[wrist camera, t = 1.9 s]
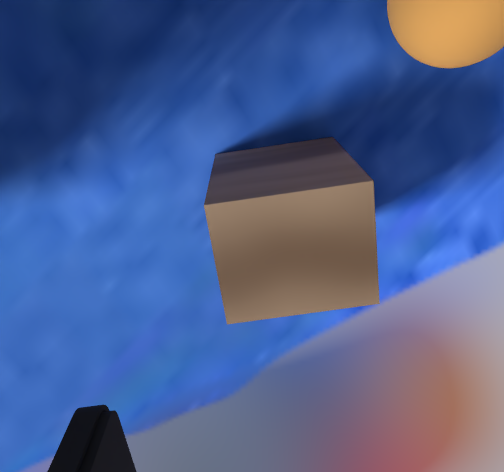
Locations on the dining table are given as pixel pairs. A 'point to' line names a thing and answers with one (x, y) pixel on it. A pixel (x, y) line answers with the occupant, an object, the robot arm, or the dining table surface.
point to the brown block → (292, 230)
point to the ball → (448, 30)
